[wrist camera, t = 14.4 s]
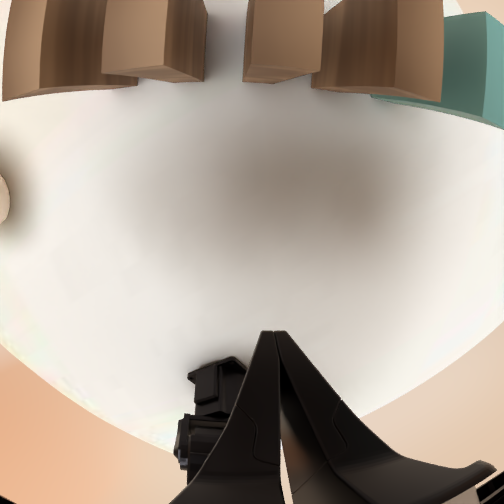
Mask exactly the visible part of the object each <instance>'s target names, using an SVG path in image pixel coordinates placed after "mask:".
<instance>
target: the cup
mask: <svg viewBox="0 0 504 504" xmlns="http://www.w3.org/2000/svg"><path fill="white" fill-rule="evenodd" d="M9 208H10V195H9V190H8V187H7V185H6V182H5V180H4V179H3V177H2V176H1V175H0V224H1V223H2V222H3V221H4V220H5V219H6V218H7V216H8V212H9Z"/></svg>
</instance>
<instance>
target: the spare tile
mask: <svg viewBox="0 0 504 504" xmlns="http://www.w3.org/2000/svg"><path fill="white" fill-rule="evenodd" d="M371 97H372V98H376V99H380V100H384V101H388V102H391V103H395V104H402V105H408V106H413V107H419V108H424V109H429V110H434V111H438V112H443V113H447V114H451V115H455V116H459V117H463V118H467V119H471V120H474V121H478V122H481V123H484V124H488V125H491V126H494V127H497V128H500V129H503V130H504V25H503V24H501V23H500V22H499V21H498V20H496V19H495V18H494V17H492V16H491V15H490V14H488V13H487V12H486V11H485V12H477V13H468V14H462V15H455V16H449V17H444V59H443V77H442V90H441V100H440V102H435V101H428V100H422V99H415V98H407V97H399V96H390V95H379V94H371Z"/></svg>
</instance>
